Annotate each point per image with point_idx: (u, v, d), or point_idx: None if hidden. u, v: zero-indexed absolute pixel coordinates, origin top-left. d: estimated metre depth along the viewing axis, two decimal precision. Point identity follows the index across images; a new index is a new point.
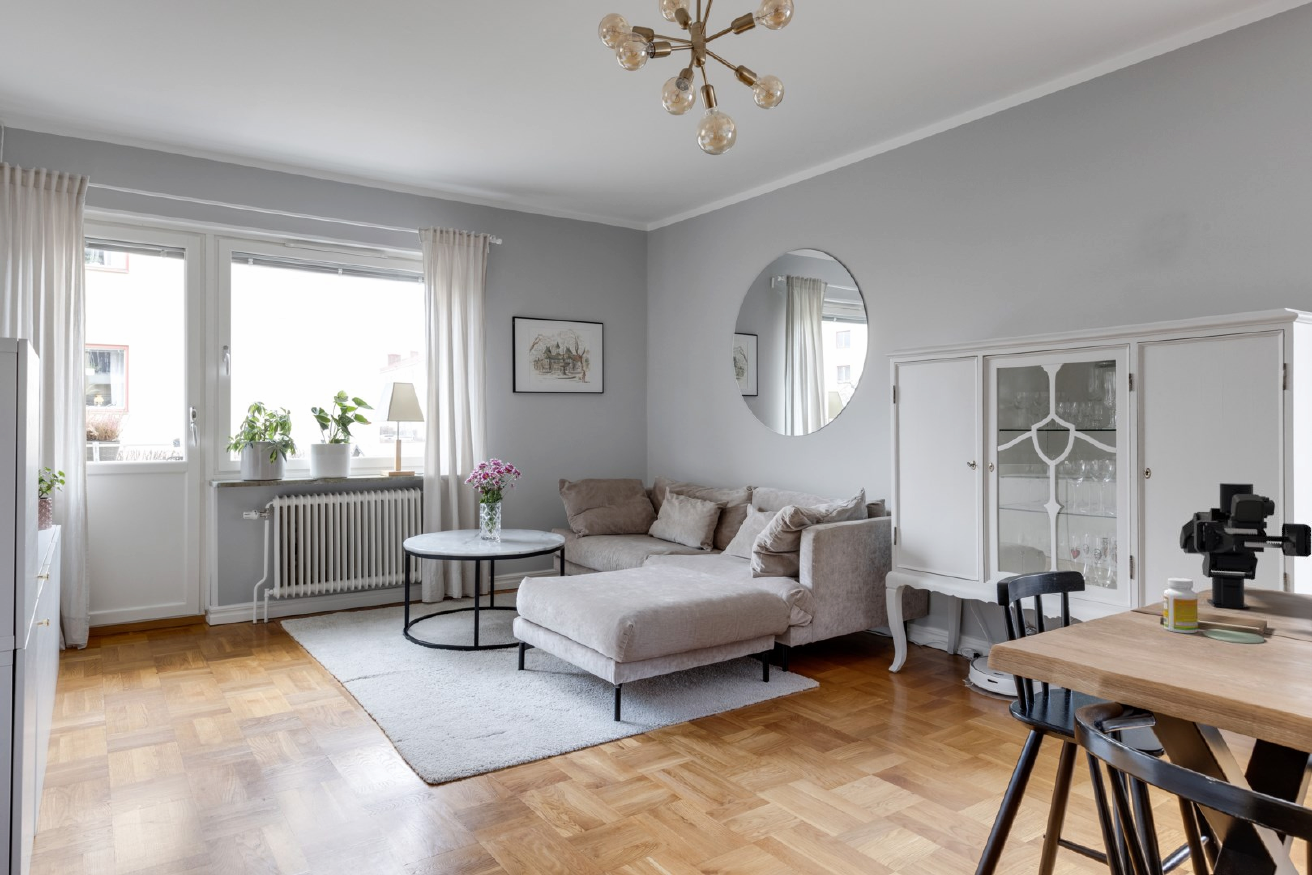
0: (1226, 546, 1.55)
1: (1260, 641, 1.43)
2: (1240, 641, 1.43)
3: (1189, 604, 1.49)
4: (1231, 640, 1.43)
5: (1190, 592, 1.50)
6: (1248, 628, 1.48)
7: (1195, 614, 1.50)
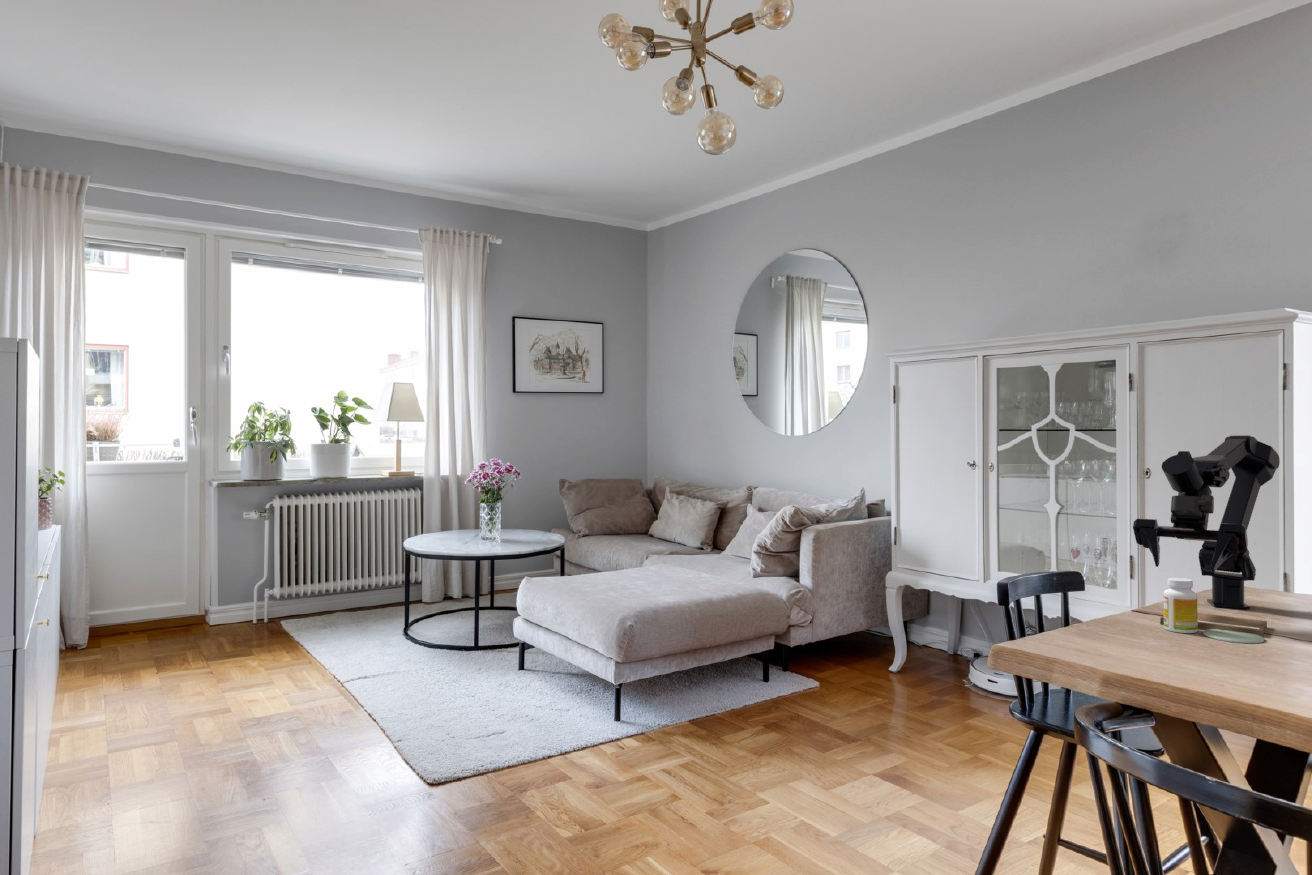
0: None
1: (1260, 641, 1.43)
2: (1240, 641, 1.43)
3: (1189, 604, 1.49)
4: (1231, 640, 1.43)
5: (1190, 592, 1.50)
6: (1248, 628, 1.48)
7: (1195, 614, 1.50)
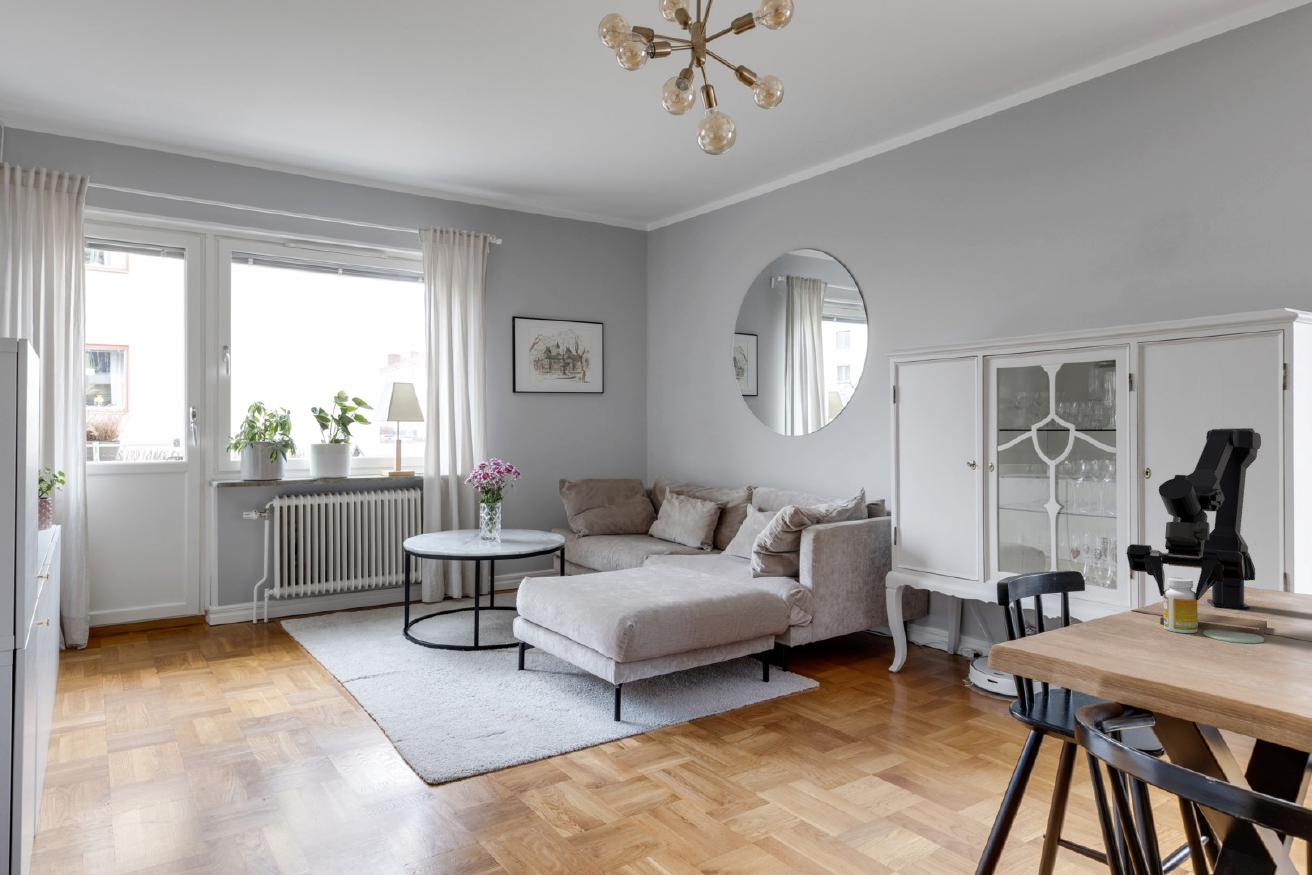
0: None
1: (1260, 641, 1.43)
2: (1240, 641, 1.43)
3: (1190, 604, 1.49)
4: (1231, 640, 1.43)
5: (1190, 592, 1.50)
6: (1248, 628, 1.48)
7: (1195, 614, 1.50)
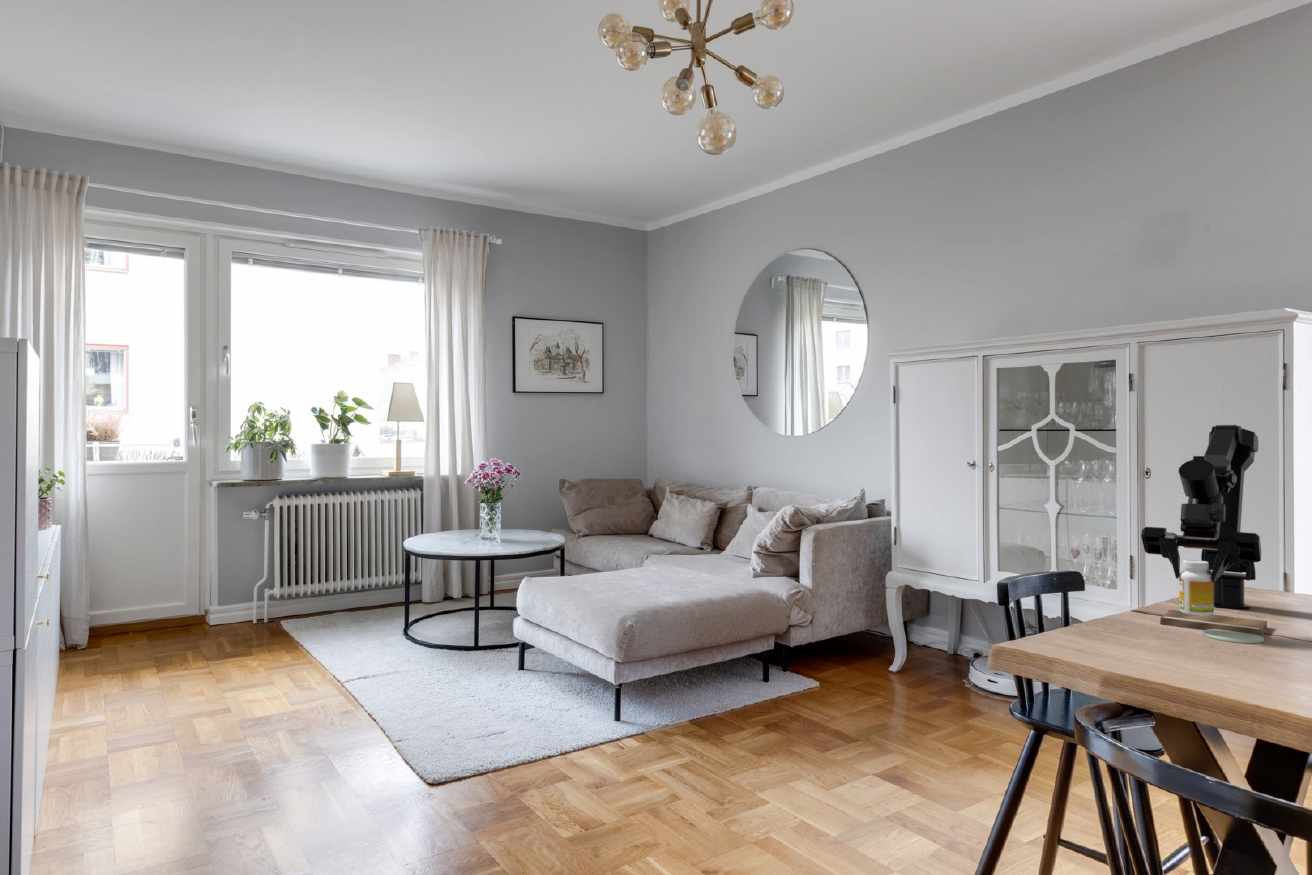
0: None
1: (1260, 641, 1.43)
2: (1240, 641, 1.43)
3: (1205, 586, 1.48)
4: (1231, 640, 1.43)
5: (1206, 574, 1.49)
6: (1248, 628, 1.48)
7: (1211, 596, 1.48)
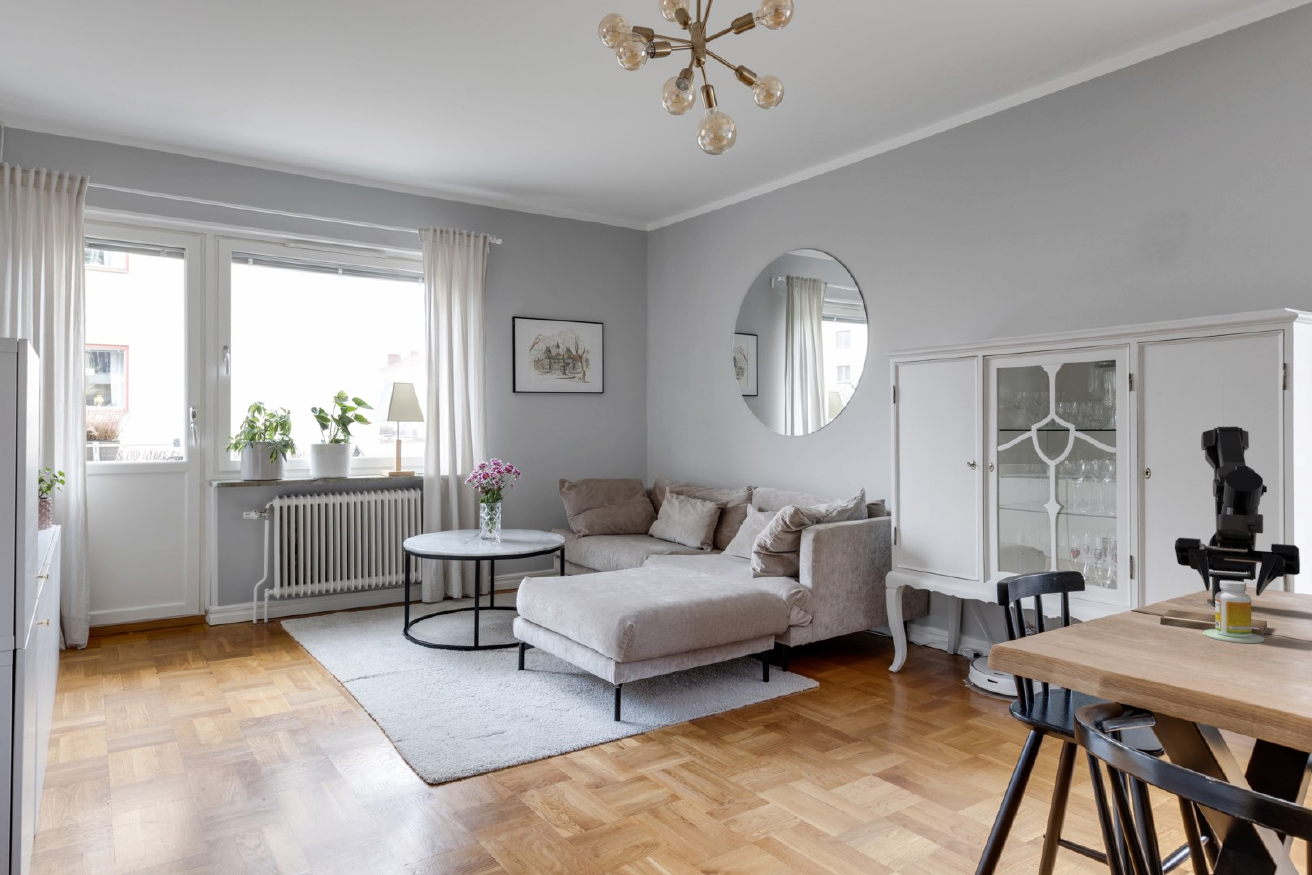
0: None
1: (1260, 641, 1.43)
2: (1240, 641, 1.43)
3: (1243, 607, 1.44)
4: (1231, 640, 1.43)
5: (1244, 595, 1.45)
6: None
7: (1249, 618, 1.44)
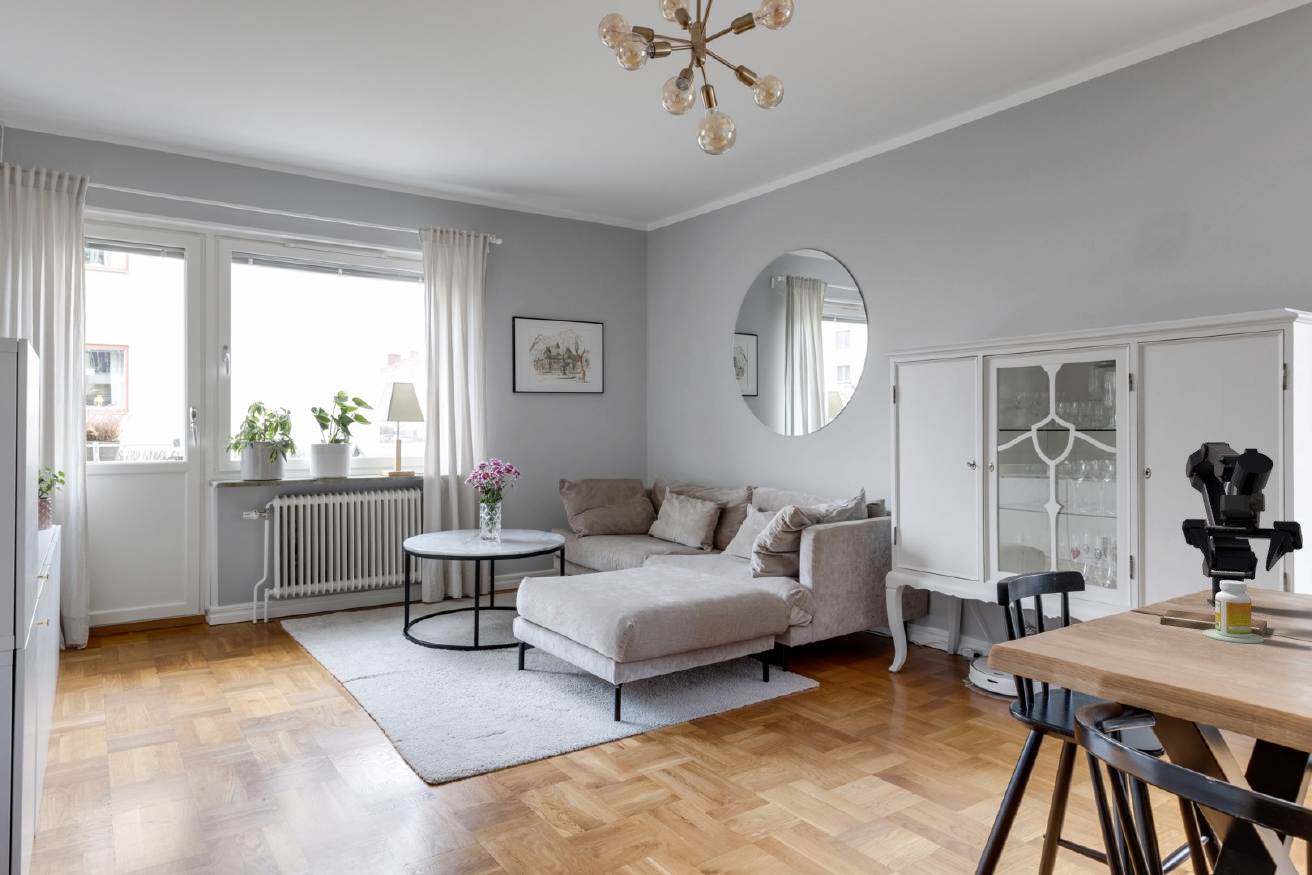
0: (1205, 560, 1.59)
1: (1260, 641, 1.43)
2: (1240, 641, 1.43)
3: (1244, 607, 1.44)
4: (1231, 640, 1.43)
5: (1244, 595, 1.45)
6: None
7: (1249, 618, 1.44)
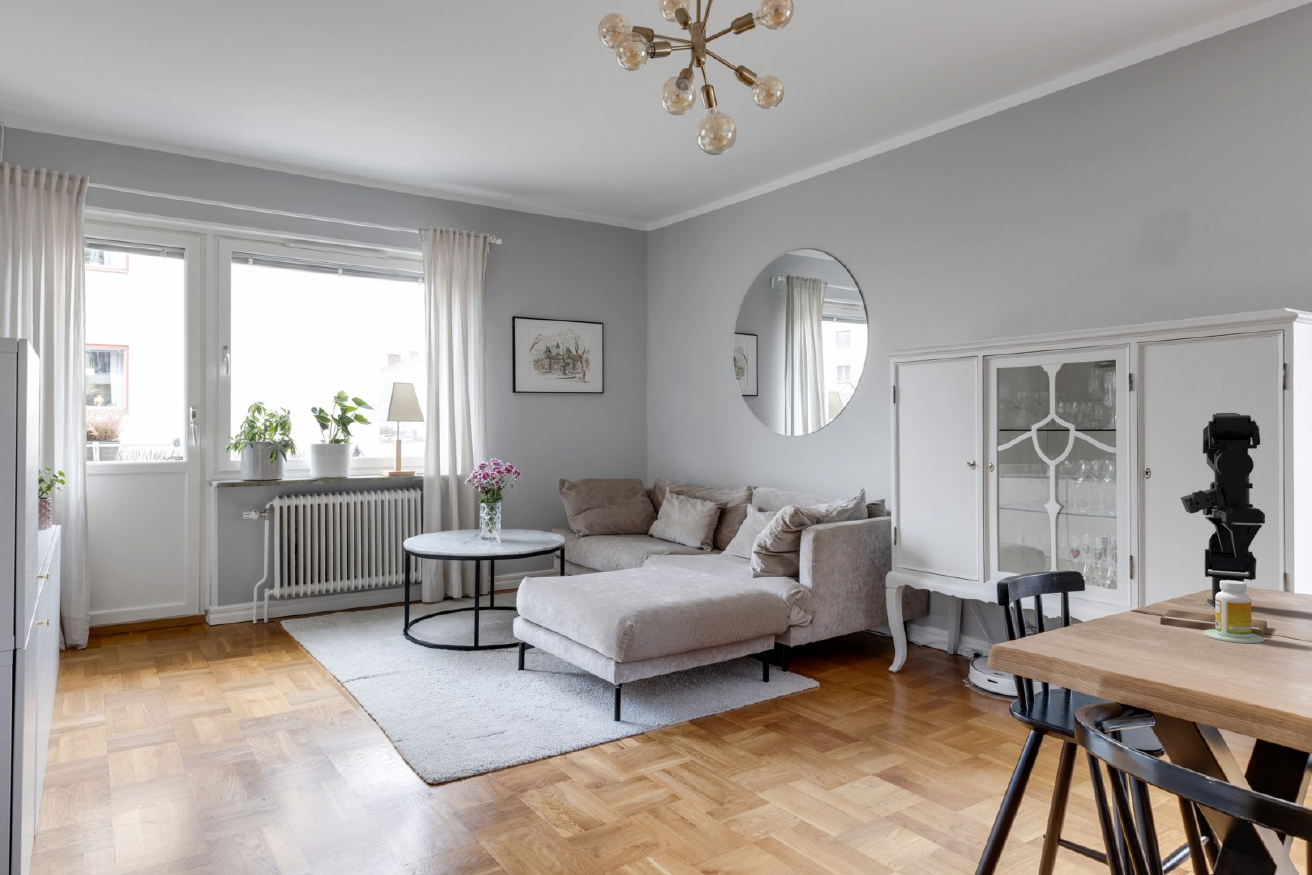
0: None
1: (1260, 641, 1.43)
2: (1240, 641, 1.43)
3: (1244, 607, 1.44)
4: (1231, 640, 1.43)
5: (1244, 595, 1.45)
6: None
7: (1249, 618, 1.44)
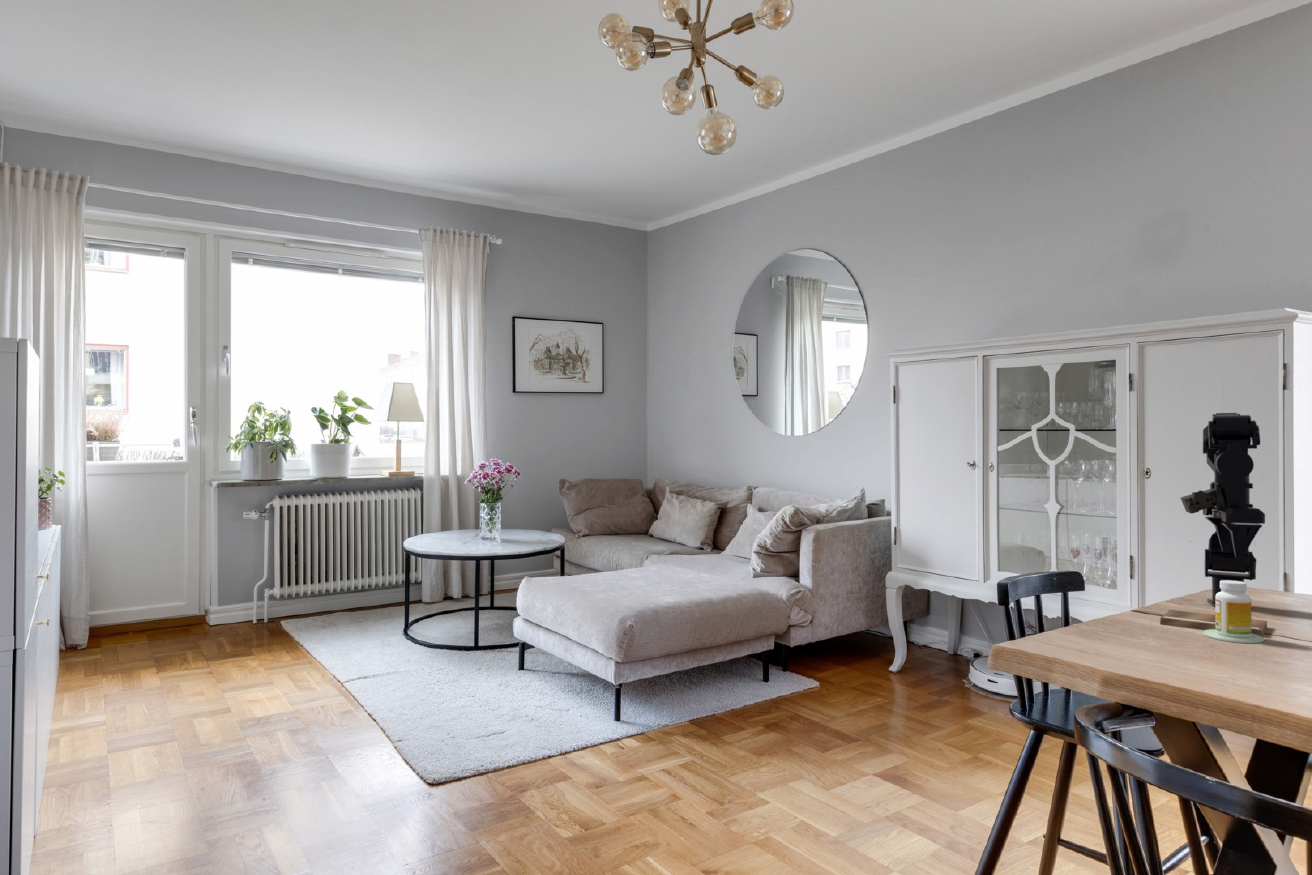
0: None
1: (1260, 641, 1.43)
2: (1240, 641, 1.43)
3: (1244, 607, 1.44)
4: (1231, 640, 1.43)
5: (1244, 595, 1.45)
6: None
7: (1249, 618, 1.44)
